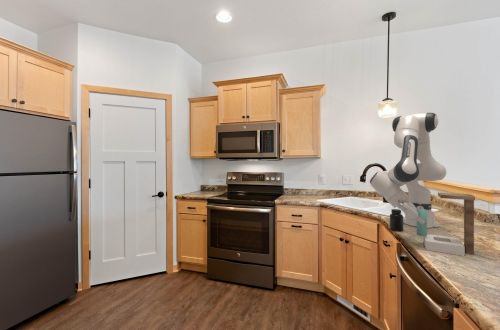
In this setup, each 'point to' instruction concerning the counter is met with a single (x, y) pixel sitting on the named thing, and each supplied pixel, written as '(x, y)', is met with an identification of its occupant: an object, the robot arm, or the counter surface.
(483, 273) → the counter surface
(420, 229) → the peg
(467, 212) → the brown wooden overhang stand
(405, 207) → the robot arm
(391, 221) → the supplement bottle
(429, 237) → the socket
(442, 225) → the counter surface
